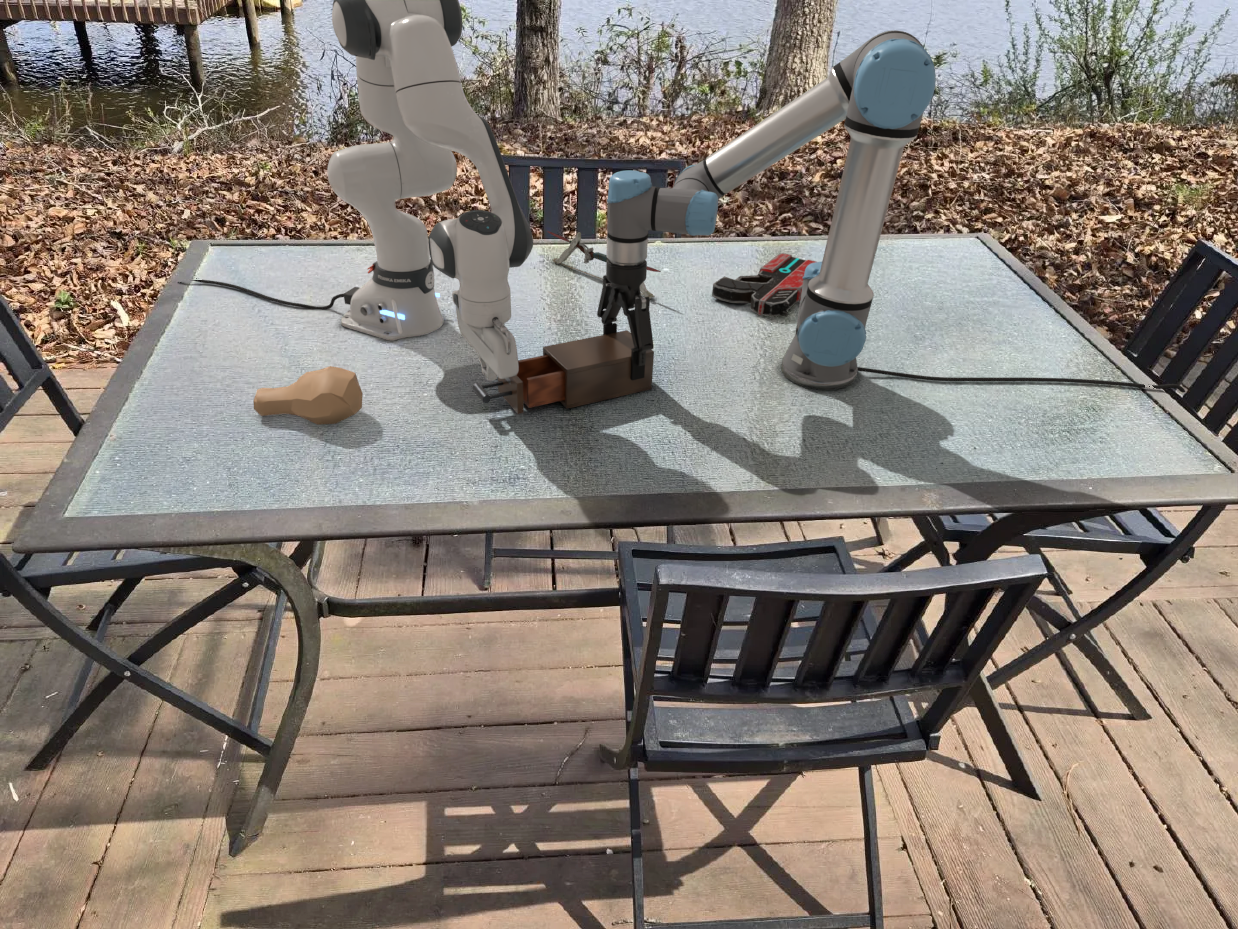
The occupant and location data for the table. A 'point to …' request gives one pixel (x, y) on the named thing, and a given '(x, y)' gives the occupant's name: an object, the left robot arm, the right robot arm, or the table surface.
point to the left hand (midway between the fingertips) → (489, 377)
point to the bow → (591, 257)
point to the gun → (766, 286)
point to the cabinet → (599, 368)
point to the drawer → (528, 384)
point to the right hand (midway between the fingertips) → (623, 366)
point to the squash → (314, 397)
